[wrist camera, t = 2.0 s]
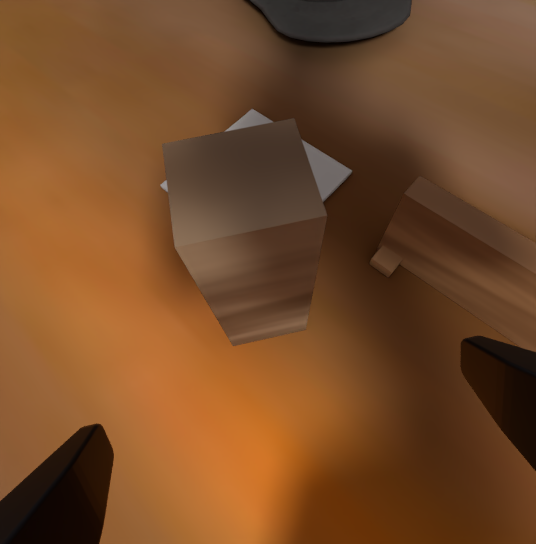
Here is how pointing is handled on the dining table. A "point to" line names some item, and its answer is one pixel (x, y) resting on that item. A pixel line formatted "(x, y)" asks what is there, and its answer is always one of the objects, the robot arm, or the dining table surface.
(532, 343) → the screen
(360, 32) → the casserole
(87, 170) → the dining table surface
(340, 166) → the felt mat
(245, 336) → the plain brown block
